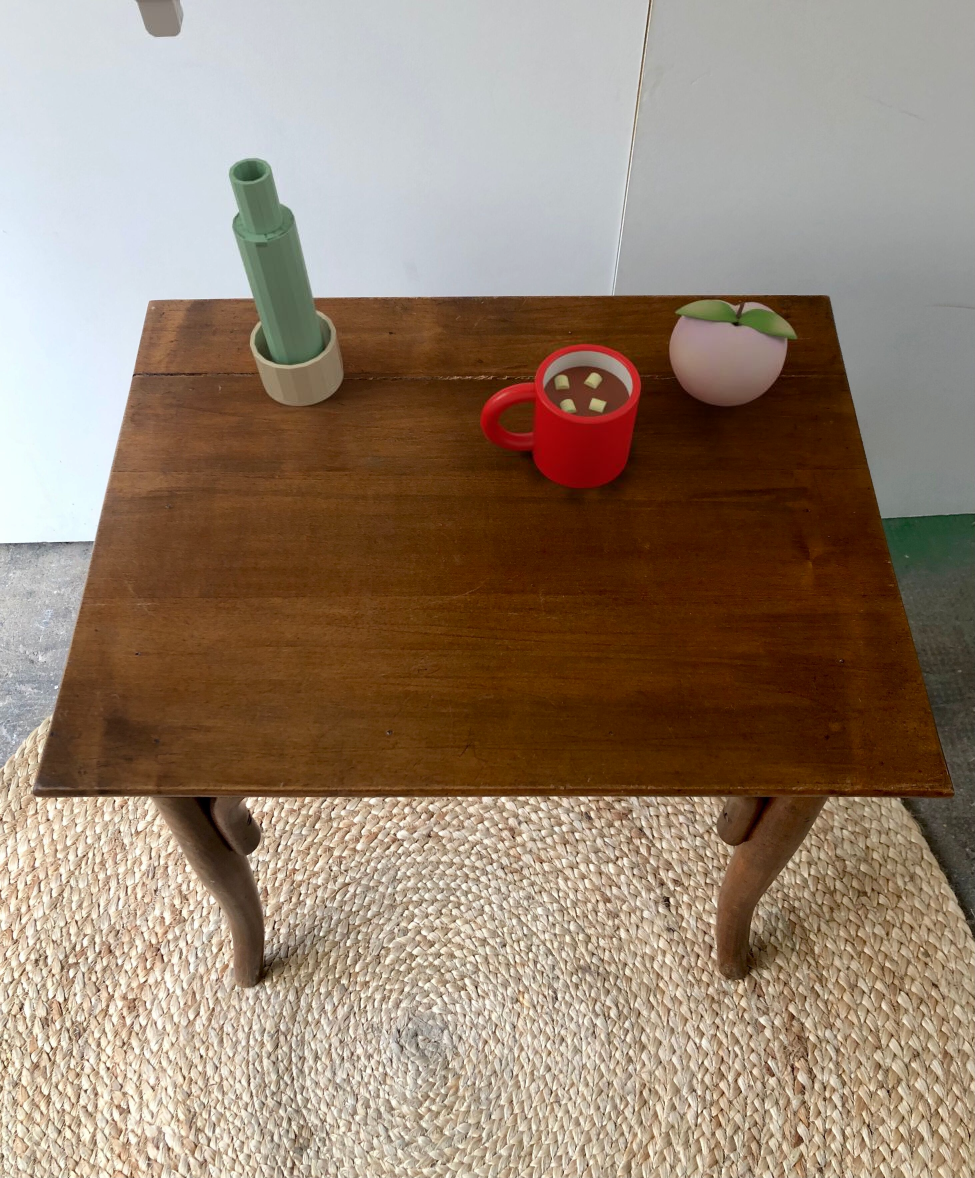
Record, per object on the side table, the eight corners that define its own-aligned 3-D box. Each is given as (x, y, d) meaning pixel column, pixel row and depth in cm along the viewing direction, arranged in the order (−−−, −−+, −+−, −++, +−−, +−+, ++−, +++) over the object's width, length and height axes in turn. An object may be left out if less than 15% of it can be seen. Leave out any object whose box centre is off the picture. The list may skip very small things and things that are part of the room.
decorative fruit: (659, 431, 74) (679, 340, 66) (660, 358, 79) (679, 264, 70) (774, 439, 74) (810, 349, 65) (769, 365, 78) (803, 272, 69)
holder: (259, 408, 76) (246, 370, 72) (265, 347, 80) (253, 308, 76) (342, 404, 76) (333, 366, 73) (345, 344, 80) (337, 304, 76)
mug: (477, 420, 75) (474, 351, 69) (620, 409, 76) (631, 339, 69) (485, 496, 71) (484, 431, 65) (636, 484, 72) (650, 417, 65)
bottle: (275, 391, 77) (213, 192, 60) (279, 353, 79) (220, 151, 62) (327, 388, 77) (280, 190, 60) (329, 351, 79) (284, 149, 62)
